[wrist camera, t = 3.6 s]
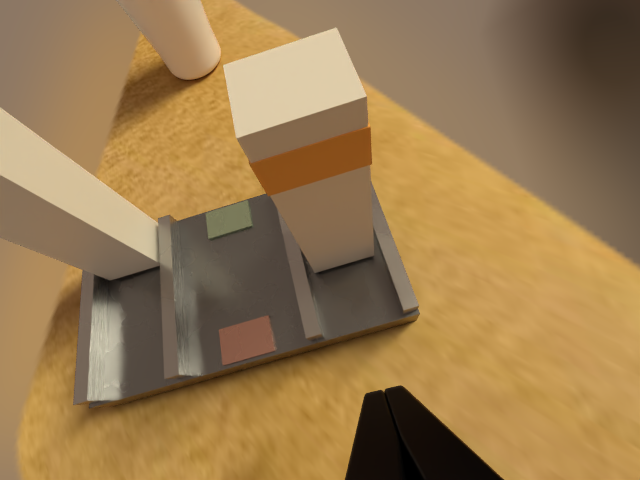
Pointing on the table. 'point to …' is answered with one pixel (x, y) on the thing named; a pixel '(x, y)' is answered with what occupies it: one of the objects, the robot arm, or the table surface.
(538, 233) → the table surface
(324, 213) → the lever
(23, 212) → the on lever
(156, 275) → the box
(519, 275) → the table surface
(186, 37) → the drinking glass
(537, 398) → the table surface
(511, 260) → the table surface
